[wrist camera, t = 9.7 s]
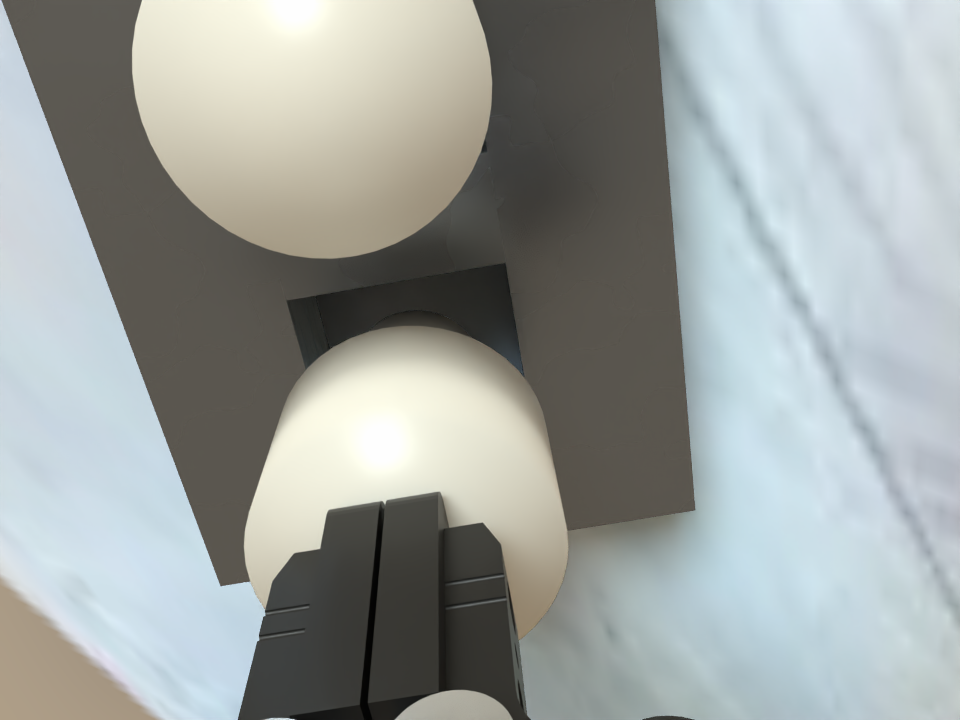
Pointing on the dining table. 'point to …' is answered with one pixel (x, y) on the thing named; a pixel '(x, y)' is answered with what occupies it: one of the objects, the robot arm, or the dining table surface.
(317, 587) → the robot arm
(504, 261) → the mount panel
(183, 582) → the dining table surface
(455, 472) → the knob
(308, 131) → the knob mid
